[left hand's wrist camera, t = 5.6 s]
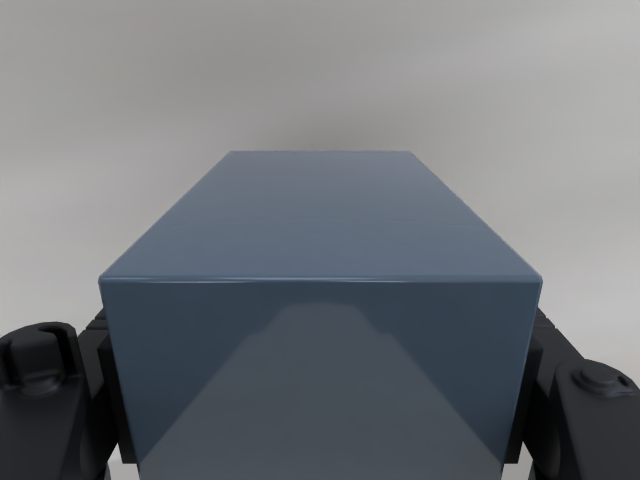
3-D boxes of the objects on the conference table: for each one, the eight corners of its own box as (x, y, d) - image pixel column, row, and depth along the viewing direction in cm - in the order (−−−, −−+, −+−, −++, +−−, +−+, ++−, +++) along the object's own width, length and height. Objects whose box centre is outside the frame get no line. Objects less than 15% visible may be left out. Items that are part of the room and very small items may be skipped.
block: (228, 150, 15) (93, 277, 6) (411, 150, 15) (546, 277, 6) (241, 311, 17) (157, 574, 8) (398, 311, 17) (482, 574, 8)
